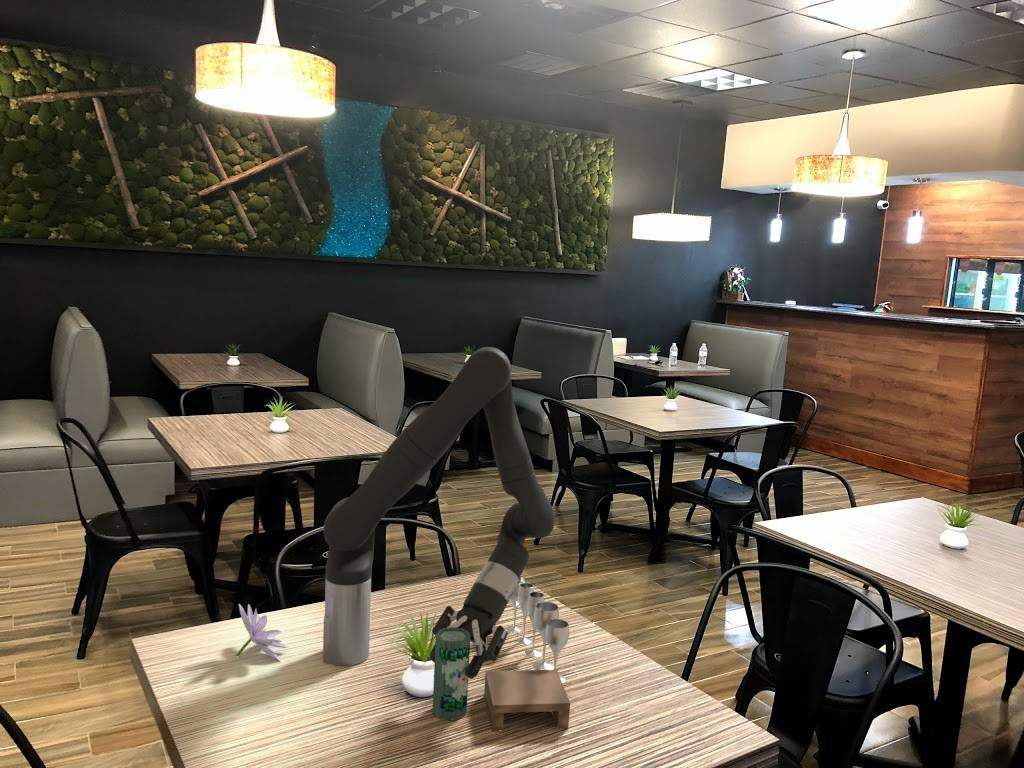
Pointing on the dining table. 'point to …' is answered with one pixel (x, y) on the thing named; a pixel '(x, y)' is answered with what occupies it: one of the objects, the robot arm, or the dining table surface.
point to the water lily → (259, 632)
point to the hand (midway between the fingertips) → (450, 669)
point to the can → (451, 673)
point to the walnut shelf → (525, 695)
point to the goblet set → (539, 623)
